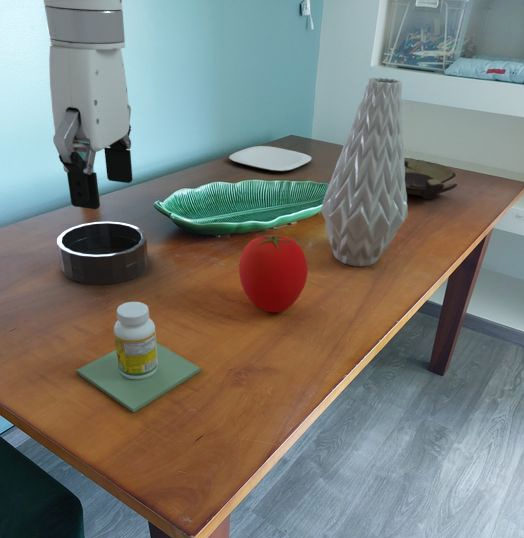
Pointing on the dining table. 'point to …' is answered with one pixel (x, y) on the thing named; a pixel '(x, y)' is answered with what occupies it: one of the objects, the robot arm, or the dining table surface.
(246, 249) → the tomato
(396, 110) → the vase
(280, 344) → the dining table surface
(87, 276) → the pan
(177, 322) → the dining table surface
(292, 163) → the plate
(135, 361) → the supplement bottle
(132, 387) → the mat
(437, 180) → the oil lamp
